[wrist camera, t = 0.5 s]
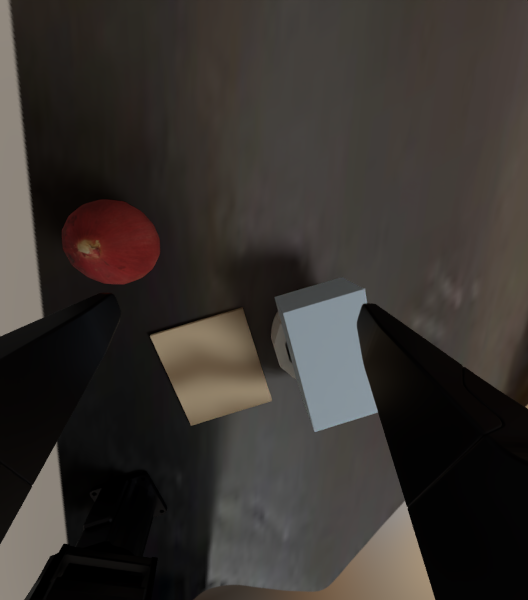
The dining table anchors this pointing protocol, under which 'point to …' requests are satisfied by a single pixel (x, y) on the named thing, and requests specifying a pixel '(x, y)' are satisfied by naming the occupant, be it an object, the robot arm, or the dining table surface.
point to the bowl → (281, 346)
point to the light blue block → (327, 351)
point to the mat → (213, 366)
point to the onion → (110, 241)
